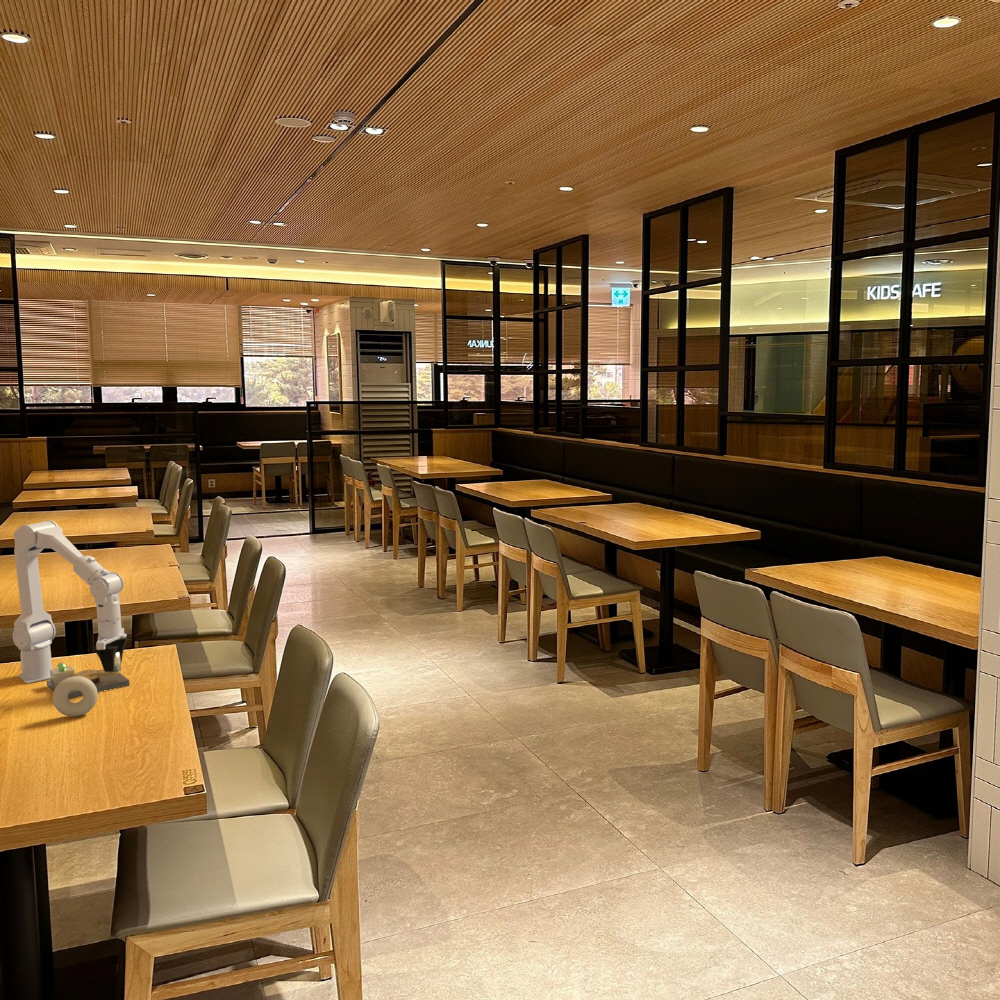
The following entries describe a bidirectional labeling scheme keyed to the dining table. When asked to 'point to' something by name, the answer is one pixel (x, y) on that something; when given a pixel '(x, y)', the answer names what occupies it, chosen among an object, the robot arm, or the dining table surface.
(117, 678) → the instrument base
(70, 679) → the donut
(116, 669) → the gold rounded piece
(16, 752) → the dining table surface
